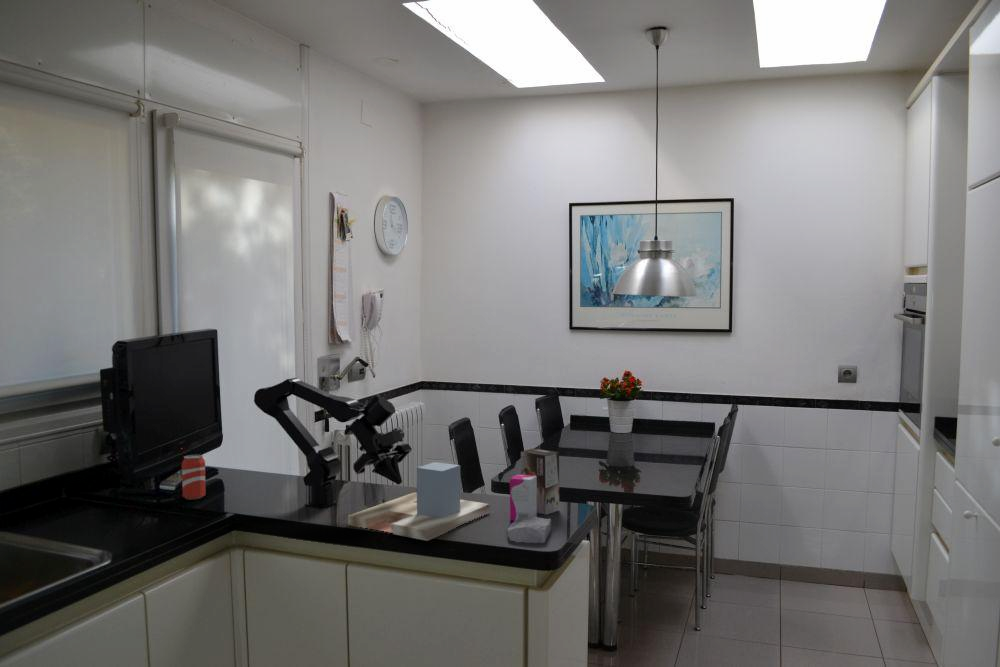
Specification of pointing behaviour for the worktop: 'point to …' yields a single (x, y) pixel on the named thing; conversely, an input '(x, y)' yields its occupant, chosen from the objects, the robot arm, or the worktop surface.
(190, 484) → the beverage can
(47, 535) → the worktop surface
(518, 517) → the supplement box
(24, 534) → the worktop surface
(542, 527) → the stone block
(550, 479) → the coffee box
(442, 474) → the slate block
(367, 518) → the trap board
